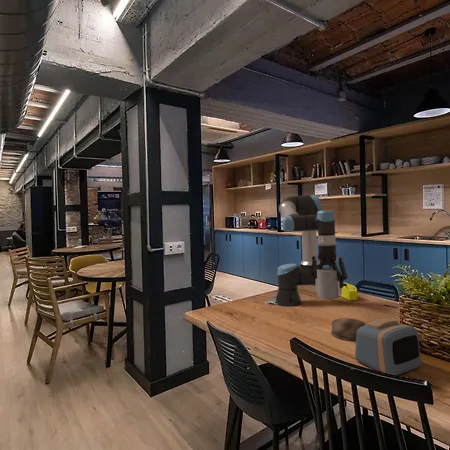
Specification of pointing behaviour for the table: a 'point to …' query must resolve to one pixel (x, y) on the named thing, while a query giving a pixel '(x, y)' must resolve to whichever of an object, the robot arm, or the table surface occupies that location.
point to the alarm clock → (388, 346)
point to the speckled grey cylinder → (327, 283)
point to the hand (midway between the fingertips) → (328, 293)
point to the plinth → (346, 328)
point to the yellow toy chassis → (349, 292)
